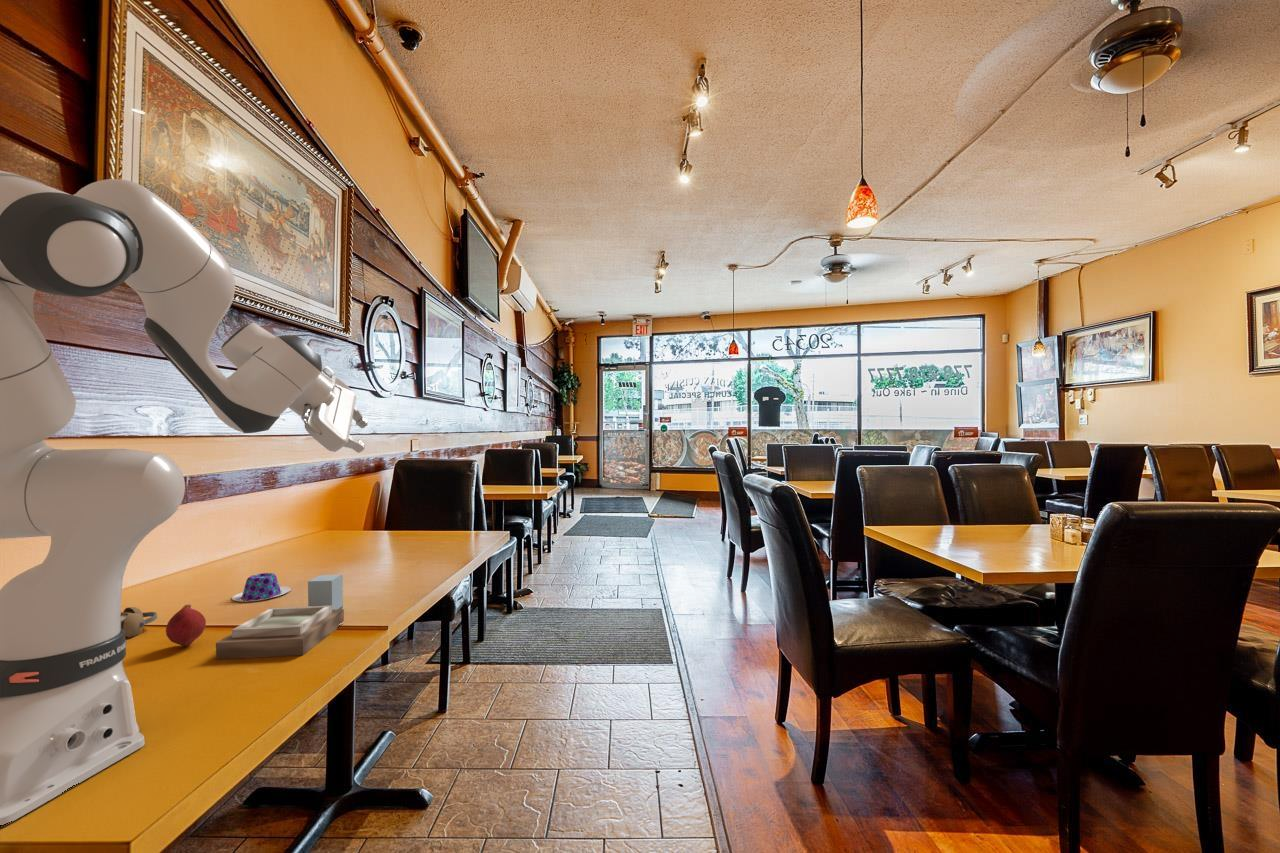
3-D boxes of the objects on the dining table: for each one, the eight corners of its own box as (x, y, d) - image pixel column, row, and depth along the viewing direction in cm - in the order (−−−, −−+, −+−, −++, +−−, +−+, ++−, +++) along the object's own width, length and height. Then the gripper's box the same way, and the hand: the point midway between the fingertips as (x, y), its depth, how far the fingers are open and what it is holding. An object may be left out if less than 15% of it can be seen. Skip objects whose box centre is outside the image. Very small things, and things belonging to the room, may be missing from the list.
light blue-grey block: (332, 616, 118) (331, 580, 118) (308, 617, 118) (307, 581, 118) (342, 609, 123) (342, 574, 123) (320, 610, 123) (319, 575, 123)
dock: (303, 655, 98) (302, 630, 98) (216, 659, 97) (215, 634, 97) (343, 623, 114) (343, 602, 114) (269, 626, 113) (269, 604, 113)
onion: (182, 653, 100) (182, 610, 100) (158, 651, 101) (157, 608, 101) (213, 641, 106) (212, 600, 106) (189, 639, 107) (189, 598, 107)
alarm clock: (52, 626, 107) (152, 596, 118) (59, 649, 108) (158, 617, 118) (47, 642, 99) (155, 607, 110) (55, 667, 100) (161, 630, 110)
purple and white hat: (299, 593, 136) (298, 573, 136) (243, 607, 127) (243, 585, 126) (278, 586, 143) (277, 566, 143) (223, 599, 133) (223, 577, 133)
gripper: (314, 411, 98) (372, 456, 107) (328, 362, 114) (378, 404, 123) (286, 430, 99) (347, 474, 107) (304, 379, 115) (356, 420, 123)
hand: (364, 436), depth 115 cm, fingers open, 8 cm apart
